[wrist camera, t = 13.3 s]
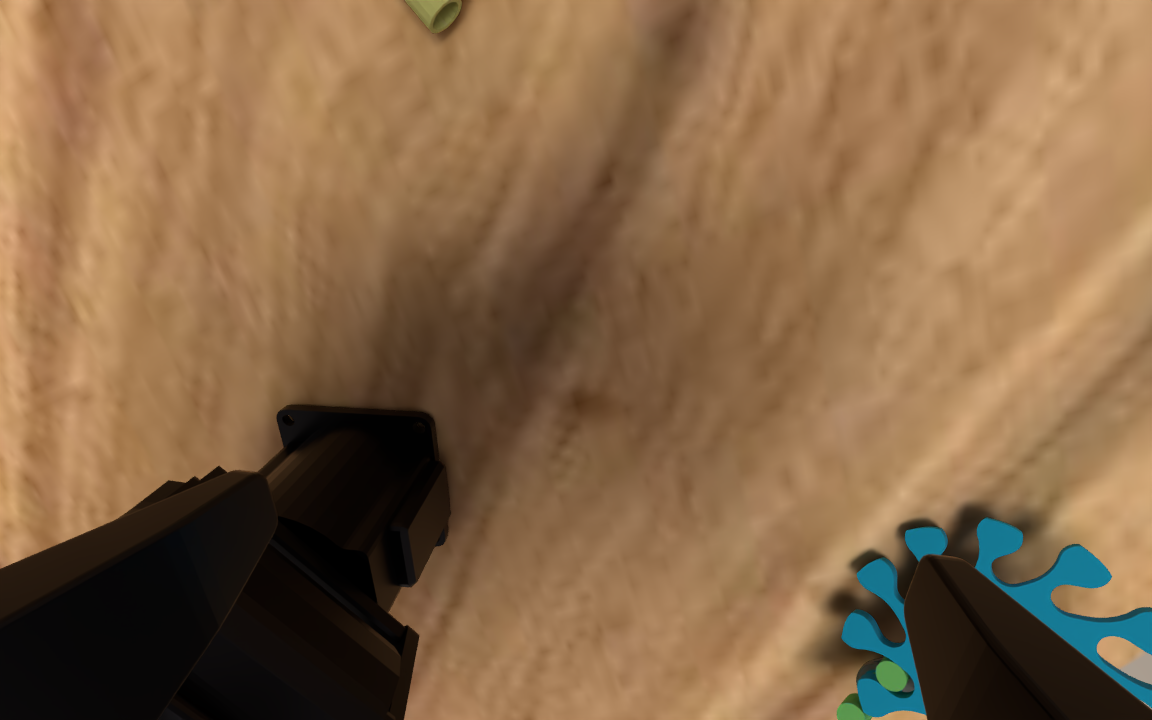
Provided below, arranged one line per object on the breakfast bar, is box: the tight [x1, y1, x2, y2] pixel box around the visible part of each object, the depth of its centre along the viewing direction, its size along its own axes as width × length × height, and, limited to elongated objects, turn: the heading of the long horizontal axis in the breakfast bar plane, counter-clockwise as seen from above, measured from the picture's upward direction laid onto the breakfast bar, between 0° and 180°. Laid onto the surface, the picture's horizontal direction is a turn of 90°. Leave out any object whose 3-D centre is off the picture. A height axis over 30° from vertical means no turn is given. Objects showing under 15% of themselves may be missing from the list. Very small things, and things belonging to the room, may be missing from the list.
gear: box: [837, 517, 1152, 720], centre depth 21 cm, size 11×6×10 cm
